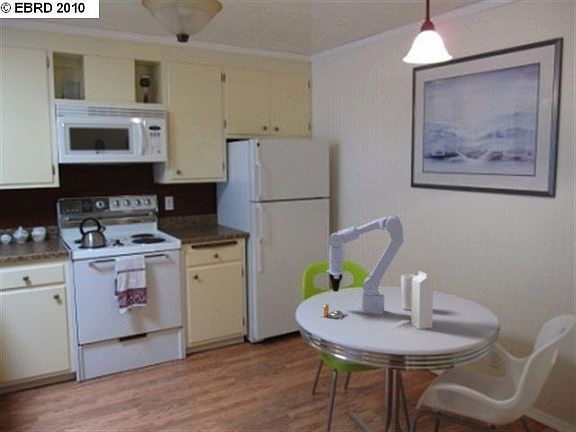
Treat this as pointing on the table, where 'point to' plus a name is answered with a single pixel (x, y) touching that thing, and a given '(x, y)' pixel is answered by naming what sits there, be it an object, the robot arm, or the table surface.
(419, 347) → the table surface
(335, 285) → the robot arm
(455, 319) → the table surface
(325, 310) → the dial
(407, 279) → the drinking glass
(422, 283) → the milk
